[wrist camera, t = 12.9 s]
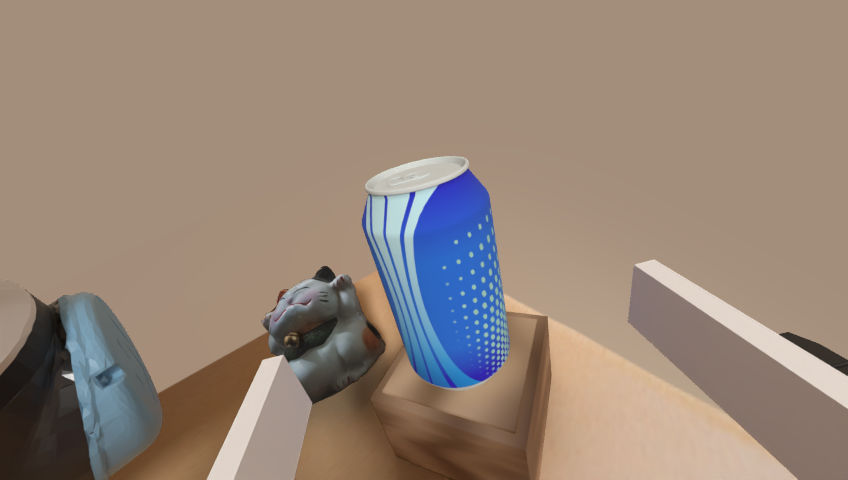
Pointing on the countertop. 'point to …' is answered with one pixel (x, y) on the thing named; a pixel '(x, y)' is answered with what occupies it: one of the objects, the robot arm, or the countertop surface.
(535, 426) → the block
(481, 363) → the beer can
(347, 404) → the countertop surface
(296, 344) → the lucky cat figurine
